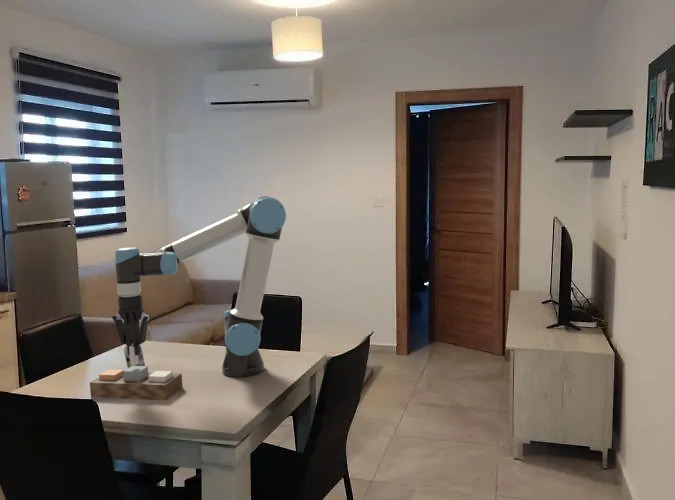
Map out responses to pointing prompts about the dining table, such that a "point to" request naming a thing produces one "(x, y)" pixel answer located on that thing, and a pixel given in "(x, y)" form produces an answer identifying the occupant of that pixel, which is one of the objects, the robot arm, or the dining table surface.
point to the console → (136, 388)
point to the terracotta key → (111, 375)
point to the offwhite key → (160, 376)
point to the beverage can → (140, 358)
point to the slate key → (135, 373)
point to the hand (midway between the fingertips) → (134, 364)
